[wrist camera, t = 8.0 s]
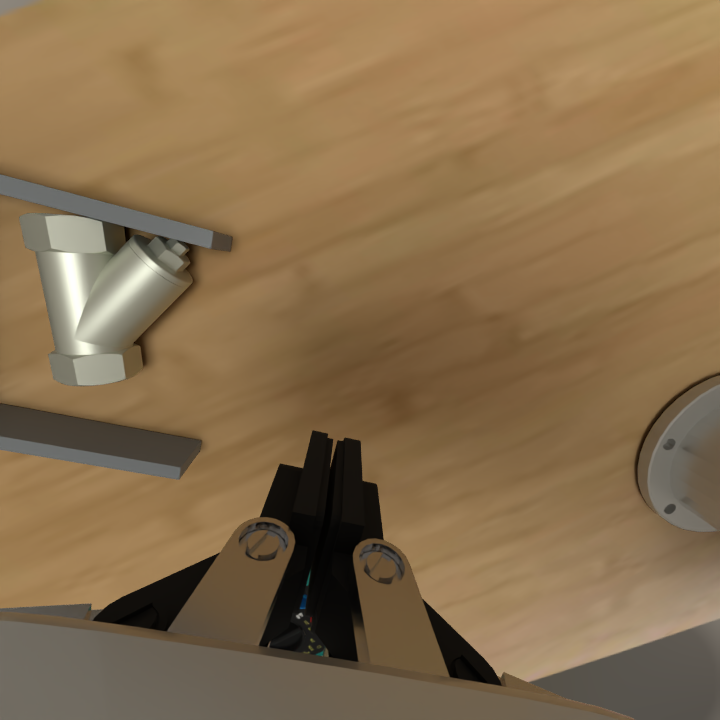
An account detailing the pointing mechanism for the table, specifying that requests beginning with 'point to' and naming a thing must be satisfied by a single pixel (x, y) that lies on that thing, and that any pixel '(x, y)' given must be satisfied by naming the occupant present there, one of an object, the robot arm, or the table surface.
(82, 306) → the pipe fitting
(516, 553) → the table surface
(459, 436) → the table surface
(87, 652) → the robot arm
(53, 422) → the gray u-shaped frame
